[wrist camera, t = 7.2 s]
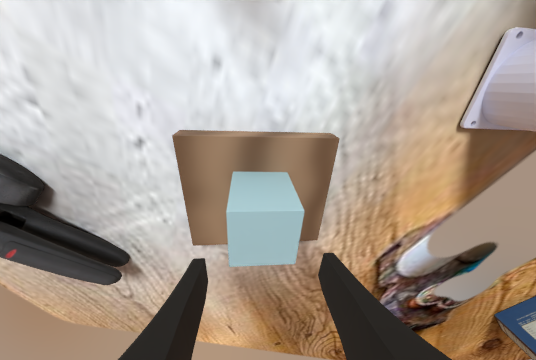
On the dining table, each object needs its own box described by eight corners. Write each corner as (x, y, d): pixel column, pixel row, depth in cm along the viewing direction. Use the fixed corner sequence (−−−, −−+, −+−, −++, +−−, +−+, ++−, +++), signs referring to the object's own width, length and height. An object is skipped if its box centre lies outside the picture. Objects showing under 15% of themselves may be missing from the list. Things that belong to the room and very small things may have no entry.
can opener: (-72, 170, 17) (-209, 208, 12) (-30, 123, 15) (-163, 143, 10) (112, 272, 24) (77, 321, 19) (151, 246, 23) (124, 292, 18)
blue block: (287, 172, 18) (304, 211, 12) (282, 215, 20) (295, 263, 15) (232, 171, 17) (226, 212, 12) (234, 216, 19) (229, 266, 14)
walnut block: (328, 131, 19) (339, 138, 17) (310, 225, 24) (317, 240, 22) (181, 128, 17) (172, 135, 15) (198, 229, 23) (192, 245, 21)
